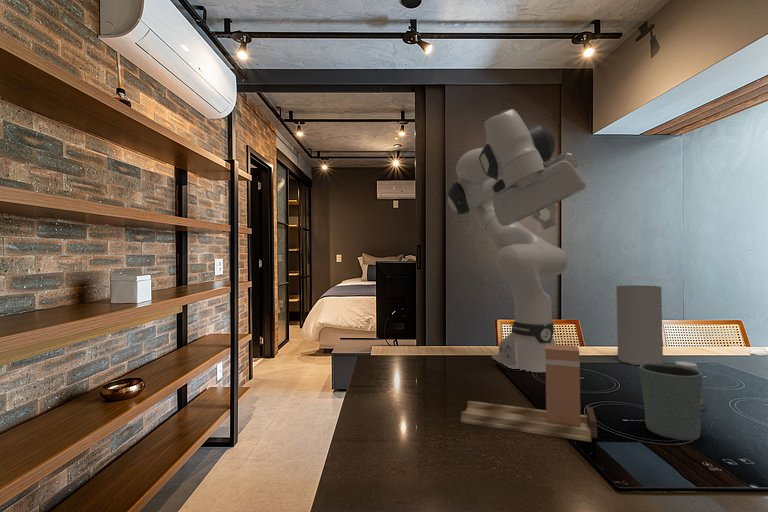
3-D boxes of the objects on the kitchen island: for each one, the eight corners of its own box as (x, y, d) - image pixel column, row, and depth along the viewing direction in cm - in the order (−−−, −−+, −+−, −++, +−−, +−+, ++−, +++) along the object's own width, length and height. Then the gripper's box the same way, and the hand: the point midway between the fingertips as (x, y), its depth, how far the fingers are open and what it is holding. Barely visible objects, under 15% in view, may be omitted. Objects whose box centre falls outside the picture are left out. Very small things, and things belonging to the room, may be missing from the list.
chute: (460, 422, 81) (460, 405, 81) (468, 407, 89) (468, 391, 90) (597, 442, 72) (597, 422, 72) (592, 424, 80) (591, 406, 80)
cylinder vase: (672, 366, 123) (670, 287, 124) (632, 367, 124) (630, 287, 124) (646, 357, 136) (644, 285, 136) (610, 357, 136) (608, 285, 137)
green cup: (686, 446, 70) (685, 378, 70) (629, 426, 79) (627, 366, 79) (715, 434, 75) (713, 371, 75) (657, 416, 84) (656, 360, 84)
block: (546, 425, 77) (544, 348, 77) (546, 416, 81) (545, 344, 82) (581, 430, 74) (579, 351, 75) (579, 420, 79) (577, 346, 79)
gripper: (573, 150, 88) (601, 206, 85) (493, 194, 100) (515, 244, 97) (566, 146, 83) (595, 205, 80) (482, 193, 95) (506, 245, 92)
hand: (551, 227), depth 89 cm, fingers closed
